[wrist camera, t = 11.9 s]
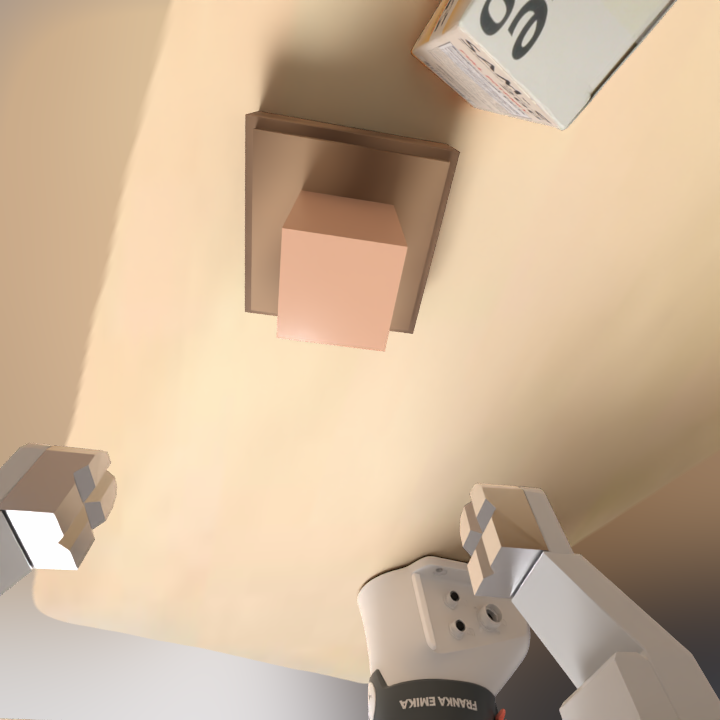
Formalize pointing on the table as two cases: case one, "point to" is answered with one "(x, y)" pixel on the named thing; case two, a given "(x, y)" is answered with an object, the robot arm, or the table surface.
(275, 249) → the plinth
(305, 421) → the table surface
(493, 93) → the supplement box
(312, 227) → the terracotta block
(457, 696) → the robot arm
